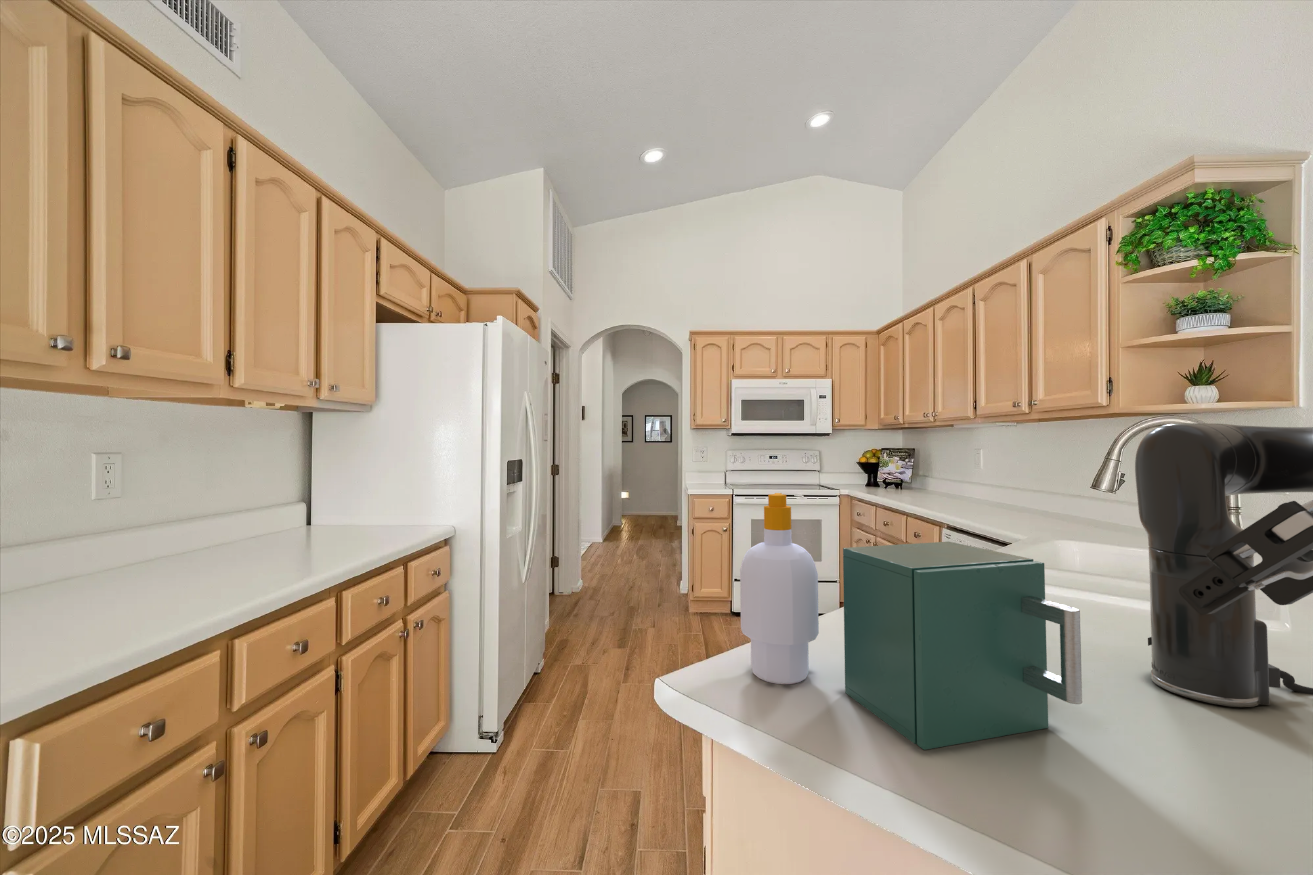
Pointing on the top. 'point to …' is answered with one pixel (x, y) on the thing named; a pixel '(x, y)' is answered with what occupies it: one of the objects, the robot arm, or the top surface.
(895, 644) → the box
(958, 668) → the fridge door
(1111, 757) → the top surface
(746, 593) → the soap bottle
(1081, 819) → the top surface
